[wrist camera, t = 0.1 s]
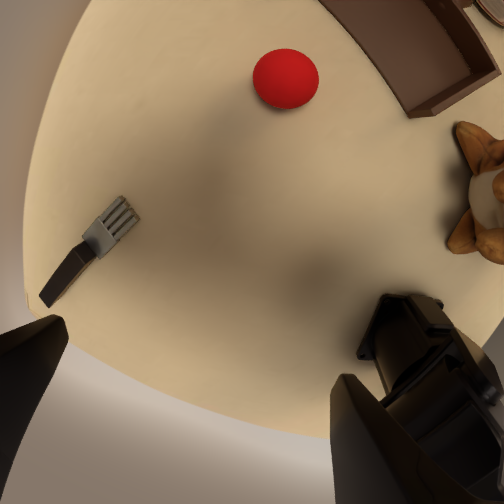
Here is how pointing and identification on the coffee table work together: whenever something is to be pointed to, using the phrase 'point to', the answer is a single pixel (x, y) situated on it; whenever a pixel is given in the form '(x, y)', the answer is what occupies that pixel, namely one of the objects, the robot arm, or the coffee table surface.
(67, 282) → the fork
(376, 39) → the serving tray
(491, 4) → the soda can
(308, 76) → the red ball
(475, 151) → the stuffed squirrel
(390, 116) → the coffee table surface
